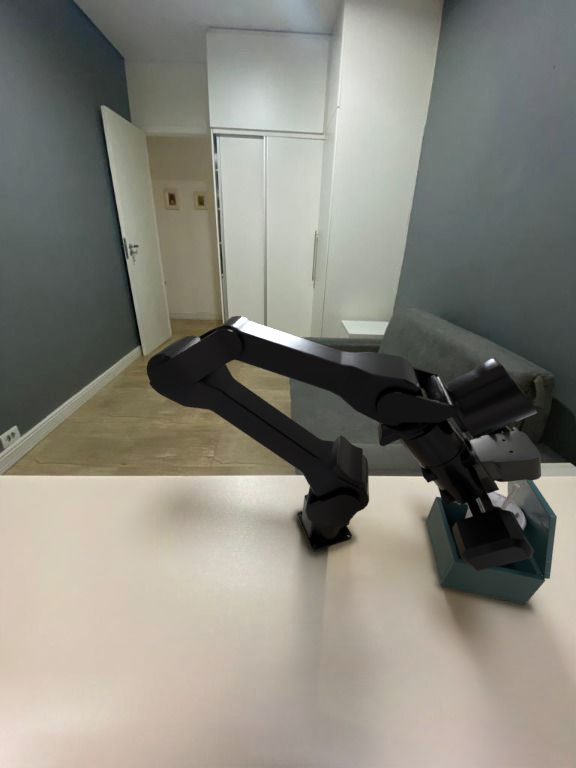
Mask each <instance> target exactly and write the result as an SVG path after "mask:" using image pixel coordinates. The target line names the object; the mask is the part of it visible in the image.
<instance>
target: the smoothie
mask: <svg viewBox="0 0 576 768" xmlns="http://www.w3.org/2000/svg"><path fill="white" fill-rule="evenodd" d="M519 487H520V486H519V485H518V484H514V486H513V488H512V489H511V491H510V493H509V494H508V493H507V495H503V494H501V493H499V492H497V491H494V492H491V493H488V495H489V497H490V499H491V501H492V504H493V506H497V507H500V508H502V510H507V511H511V512H513V514H514V516H515V517H516V519H517V521H518V523H519V525H520V526H521V528H522V530H524V528H525V527H526V524H527V521H526V517H525V515H524V513H523V512H522V510H521V509H520V508H519V507H518V506H517V505H516V504H515V503H514V502H513V501H511V500H512V499H513V497H514V496H515V494H516V492H517V491H518V489H519ZM478 499H479V498H478ZM479 501H480V504H481V506H482V508H483V505H482V503H481V500H480V499H479ZM467 504H468V503H467ZM483 511H484V512H486V511H485V510H484V508H483ZM471 516H472V513H471V511H470V508H469V506H468V510H467V514H466V517H465V519H466V518H469V517H471ZM456 550H457V553H458V555H459V556H460V558H461V559H463V558H462V557H461V555H460V551H459V548H458V545H457V547H456Z"/></svg>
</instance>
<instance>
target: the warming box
mask: <svg viewBox="0 0 576 768" xmlns="http://www.w3.org/2000/svg"><path fill="white" fill-rule="evenodd" d="M467 510H468V504H467V502H466V503H465V504H462V505H459V504H458V503H457V501H454V502H452V503H449V504H445V503H444V501H443V500H442V499H441V496H435V498H434V500H433V502H432V505H431V507H430V509H429V512H428V514H427V517H426V519H425V522H426V528H427V531H428V536H429V540H430V544H431V545H430V546H431V548H432V549H431V550H432V553H433V557H434V562H435V566H436V571H437V574H438V575H437V576H438V579H439V583H440V587H442V588H447V589H451V590H456V591H461V592H465V593H469V594H474V595H479V596H483V597H488V598H490V599H491V598H492V599H496V600H500V601H501V600H502V601H504V602H505V601H506V602H510V603H514V604H518V605H526V604H527V603H528V602H529V601H530V600H531V598H533V596H534V595H535V594H536V592H537V591H538V590H539V589H540V588H541V586H542V585H543V584H544V583H545V582H546V579H544V577H543V576H542V574H541V572H540V570H539V568H538V566H537V564H536V562H535V560H534V558H533V556H531V558H530V559H526V560H521V561H517V562H513V563H509V564H505V565H500V566H496V567H492V568H488V569H484V570H479V571H476V570H474V569H473V568H471V567H470V566H469V565H468V564H467V563H466V562H465V561H464V560H463V559H461V558H460V556H459V555H458V553H457V550H456V547H457V542H456V539H455V535H454V532H453V527H454V525H455V523H456V521H459V520H463V519H465V517H466V514H467Z"/></svg>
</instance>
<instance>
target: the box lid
mask: <svg viewBox="0 0 576 768" xmlns="http://www.w3.org/2000/svg"><path fill="white" fill-rule="evenodd" d="M514 484H518V485H519V486H520V487H519V489H518V491H517V492H516V494H515V496H514V497H513V499H512V500H511V501H513V502H514V503H515V504H516V505H517V506H518V507H519V508H520V509H521V510H522V512H523V513H524V515H525V517H526V521H527V524H526V527H525V528H524V530H523V532H524V533H525V535H526V537H527V539H528V541H529V543H530V545H531V547H532V548H533V550H534V552H533V554H532V556H533V558H534V560H535V562H536V564H537V566H538V568H539V570H540V572H541V574H542V576H543V577H544V579H545V580H550V579H551V573H552V563H553V553H554V546H555V545H554V544H555V538H556V537H555V536H556V529H557V528H556V527H557V518H558V516H557V515H556V513H555V511H554V510H553V509H552V507H551V505H550V504H549V503H548V501H547V499H546V498H545V497H544V495H543V493H542V492H541V491H540V489H539V488H538V486H537V485H536V483H535V482H534V480H518V481H509V482H507V495H508V494H509V493H510V491H511V489H512V488H513V486H514Z"/></svg>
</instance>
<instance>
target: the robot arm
mask: <svg viewBox="0 0 576 768" xmlns="http://www.w3.org/2000/svg"><path fill="white" fill-rule="evenodd" d="M232 361H238V362H240V363H244V364H247V365H250V366H253V367H256V368H258V369H262V370H265V371H267V372H270V373H274V374H277V375H280V376H283V377H286V378H289V379H292V380H294V381H298V382H301V383H304V384H306V385H310V386H312V387H315V388H318V389H322V390H325V391H327V392H330V393H332V394H334V395H336V396H338V397H339V398H341V399H342V400H343V401H344V402H345V403H346V404H348V406H350V407H351V408H352V409H353V410H354V411H356V412H358V413H360V414H362V415H364V416H366V417H367V418H369V419H371V420H374V421H375V422H377V423H378V425H377V434H378V444H379V445H380V447H385V446H388V445H390V444H392V443H394V442H396V441H398V440H399V442H400V443H401V444H402V445H403V446H404V448H405V449H406V450H407V451H408V452H409V454H410V455H411V456H412V457H413V458H414V459H415V461H416V462H417V464H418V465H419V466H420V470H421V475H422V477H423V479H424V480H425V482H427V483H431V482H433V483H434V485H436V487H437V489H438V492H439V495H440V497H441V499H442V500H443V501H444V503H445V504H449V503H452V502H454V501H457V503H458V504H459V505H462V504H465V503H466V502H467V503H468V506H469V508H470V511H471V513H472V516H471V517H469V518H466V519H463V520H459V521H456V523H455V525H454V527H453V532H454V535H455V539H456V542H457V545H458V548H459V551H460V555H461V557H462V558H463V560H464V561H465V562H466V563H467V564H468V565H469V566H470V567H471V568H473V569H474V570H476V571H479V570H484V569H488V568H492V567H496V566H500V565H505V564H509V563H513V562H517V561H521V560H526V559H530V558H531V556H532V554H533V552H534V550H533V548H532V547H531V545H530V543H529V541H528V539H527V537H526V535H525V533H524V532H523V530H522V528H521V526H520V525H519V523H518V521H517V519H516V517H515V516H514V514H513V512H511V511H507V510H502V508H500V507H497V506H493V504H492V501H491V499H490V497H489V495H488V493H491V492H497V491H499V490H500V488H499V486H498V484H497V483H496V482H499V483H508V482H509V481H518V480H533V481H536V480H539V479H540V478H541V477H542V465H541V463H542V459H541V452H540V450H539V449H538V448H537V446H536V445H535V444H534V443H533V441H532V440H531V439H530V437H529V436H528V434H526V432H523V431H521V430H519V429H518V428H517V427H516V426H512V428H510V427H509V426H510V425H512V424H514V423H516V422H517V423H518V422H519V421H521V420H524V419H526V418H528V417H531V416H533V415H536V414H538V410H537V409H536V406H535V405H534V403H533V401H532V400H531V399H530V397H529V396H528V395H527V393H525V391H524V390H523V389H522V388H521V387H520V386H519V385H518V384H517V383H516V382H515V381H514V379H513V378H512V377H511V375H510V374H509V373H508V372H507V369H506V368H505V367H504V365H503V364H502V363H501V362H500V361H499V360H498V359H497V358H496V357H492V358H490V359H488V360H486V361H483V362H482V363H481V364H479V365H478V366H477V367H476V368H474V369H472V370H470V371H468V372H466V373H465V374H463V375H461V376H459V377H457V378H455V379H453V380H451V381H449V382H447V383H446V382H445V381H444V378H443V377H442V374H441V373H437V372H434V371H431V370H427V369H424V368H420V367H416V366H413V365H412V363H411V362H410V361H408V360H407V359H406V358H404V357H403V356H399V355H394V354H388V353H387V354H386V353H382V352H374V351H361V352H360V351H359V352H350V351H343V350H340V349H337V348H333V347H332V346H331V347H330V346H328V345H324V344H321V343H318V342H315V341H312V340H309V339H306V338H303V337H300V336H297V335H294V334H291V333H288V332H285V331H281V330H278V329H276V328H272V327H269V326H267V325H264V324H260V323H257V322H255V321H252V320H250V319H249V318H248V317H245V316H241V315H235V316H230V317H229V318H228V319H227V320H226V321H224V322H223V323H222V324H221V325H218V326H216V327H214V328H211V329H209V330H207V331H206V332H204V333H202V334H201V335H199V336H195V335H186V336H182V337H180V338H178V339H176V340H175V341H173V342H172V343H170V344H169V345H167V346H166V347H165V348H163V349H162V350H160V351H158V352H157V353H155V354H154V355H153V356H151V357H150V359H148V361H147V364H146V375H147V377H148V381H149V383H148V384H149V386H150V387H151V388H152V389H153V390H154V391H155V392H156V393H157V394H159V396H162V397H164V398H166V399H168V400H170V401H172V402H174V403H176V404H178V405H180V406H182V407H186V408H194V409H201V410H208V411H211V412H212V413H214V414H215V415H217V416H219V417H220V418H221V419H223V420H225V421H226V422H228V424H230V425H232V426H233V427H235V428H236V429H238V430H239V431H241V433H244V434H245V435H246V436H248V437H249V438H251V439H252V440H254V441H256V442H257V443H258V444H260V445H261V446H263V447H264V448H266V449H267V450H269V451H270V452H271V453H273V454H274V455H276V456H277V457H279V458H280V459H282V460H283V461H284V462H286V463H288V464H289V465H290V466H292V467H294V468H295V469H297V470H298V471H299V472H300V473H301V474H302V476H303V477H304V479H305V480H306V482H307V484H308V486H309V487H308V493H307V494H304V498H303V505H302V510H299V511H298V512H297V513H296V517H297V520H298V522H299V524H300V526H301V528H302V531H303V533H304V536H305V537H306V540H307V542H308V544H309V546H310V549H311V550H312V552H318V551H321V550H324V549H327V548H330V547H332V546H336V545H339V544H342V543H345V542H349V541H350V540H352V538H353V534H352V532H351V530H350V529H349V527H348V526H349V525H350V523H351V520H352V519H353V518H354V517H355V516H356V514H357V513H358V512H359V513H360V512H361V511H363V510H365V508H366V507H367V506H369V502H370V483H369V482H370V481H369V479H370V478H369V462H368V459H367V457H366V455H364V449H363V448H362V447H359V446H356V445H354V444H352V443H351V442H350V441H349V440H348V439H347V438H346V437H345V436H344V435H341V434H340V435H338V437H337V438H336V439H335V440H323V439H321V438H319V437H317V436H316V435H315V434H313V433H312V432H310V431H309V430H308V429H306V428H305V427H304V426H302V425H300V424H299V423H298V422H296V421H295V420H293V419H292V418H291V417H289V416H288V415H286V414H285V413H283V412H282V411H280V410H279V409H278V408H276V407H275V406H274V405H273V404H271V403H269V402H268V401H267V400H265V399H264V398H262V397H261V396H259V395H258V394H257V393H255V392H254V391H252V390H251V389H249V388H248V387H246V386H245V385H244V384H243V383H241V382H240V381H238V380H236V378H235V377H234V376H233V375H232V373H231V371H230V369H229V367H228V365H227V364H229V363H230V362H232ZM422 390H423V391H422ZM423 393H424V394H423ZM451 418H452V419H453V421H454V422H455V424H456V425H457V427H456V428H455V427H454V426H453V424H452V423H451V421H450V420H449V419H451ZM478 498H479V499H480V500H481V503H482V505H483V508H484V510H485V511H486V512H484V511H483V508H482V506H481V504H480V501H479V499H478Z"/></svg>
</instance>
